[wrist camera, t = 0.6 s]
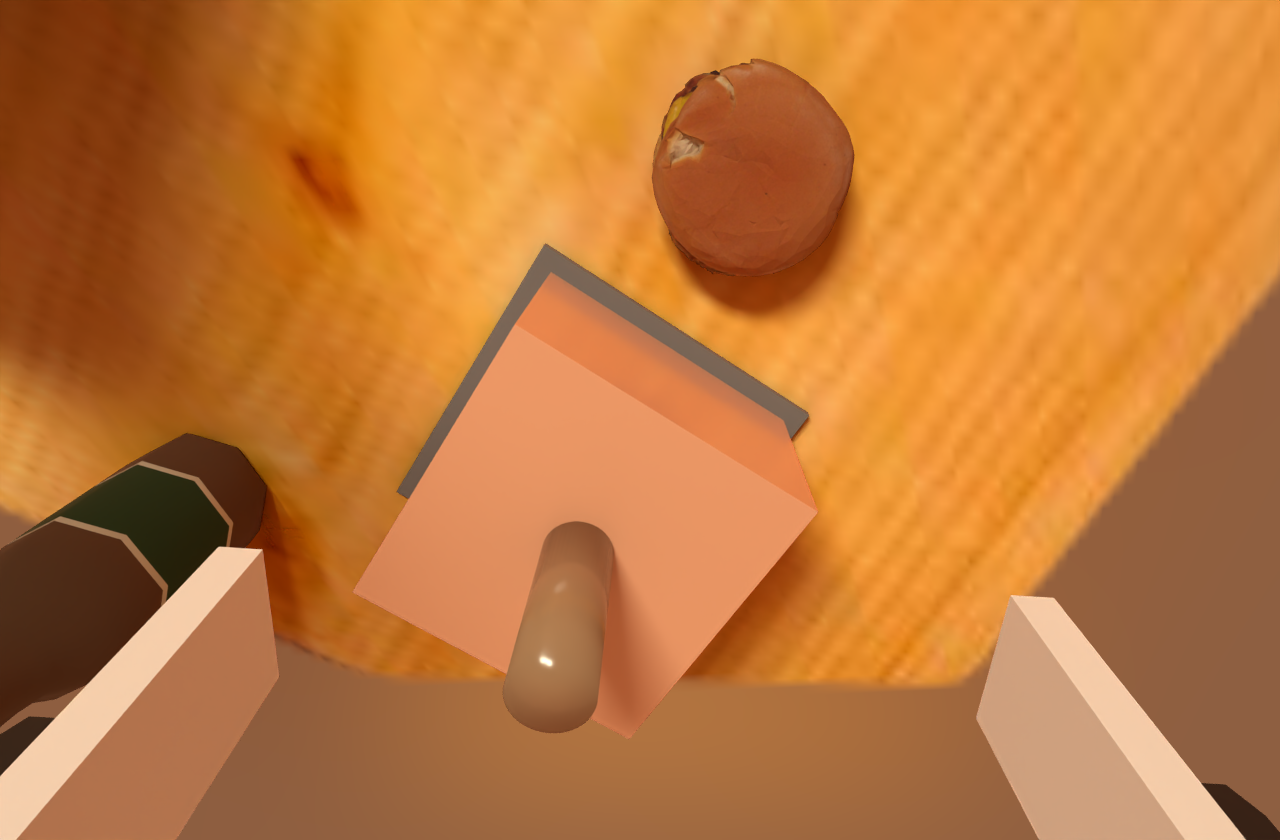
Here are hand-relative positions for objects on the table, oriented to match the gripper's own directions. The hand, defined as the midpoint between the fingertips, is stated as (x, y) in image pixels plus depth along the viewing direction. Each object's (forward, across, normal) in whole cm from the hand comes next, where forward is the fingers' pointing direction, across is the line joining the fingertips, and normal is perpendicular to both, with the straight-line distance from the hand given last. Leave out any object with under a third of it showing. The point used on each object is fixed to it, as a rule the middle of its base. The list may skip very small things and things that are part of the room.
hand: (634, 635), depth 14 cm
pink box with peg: (+30, -2, -10) cm, 31 cm away
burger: (+31, +4, +6) cm, 31 cm away
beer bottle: (+31, -25, -14) cm, 42 cm away
